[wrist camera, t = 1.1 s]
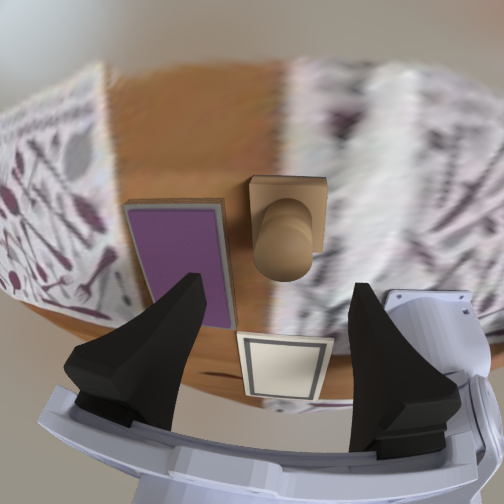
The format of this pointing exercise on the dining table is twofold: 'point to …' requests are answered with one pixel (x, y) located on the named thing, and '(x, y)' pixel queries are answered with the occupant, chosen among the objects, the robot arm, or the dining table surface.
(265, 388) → the marked card
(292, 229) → the stamp
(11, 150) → the dining table surface
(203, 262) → the ink pad
